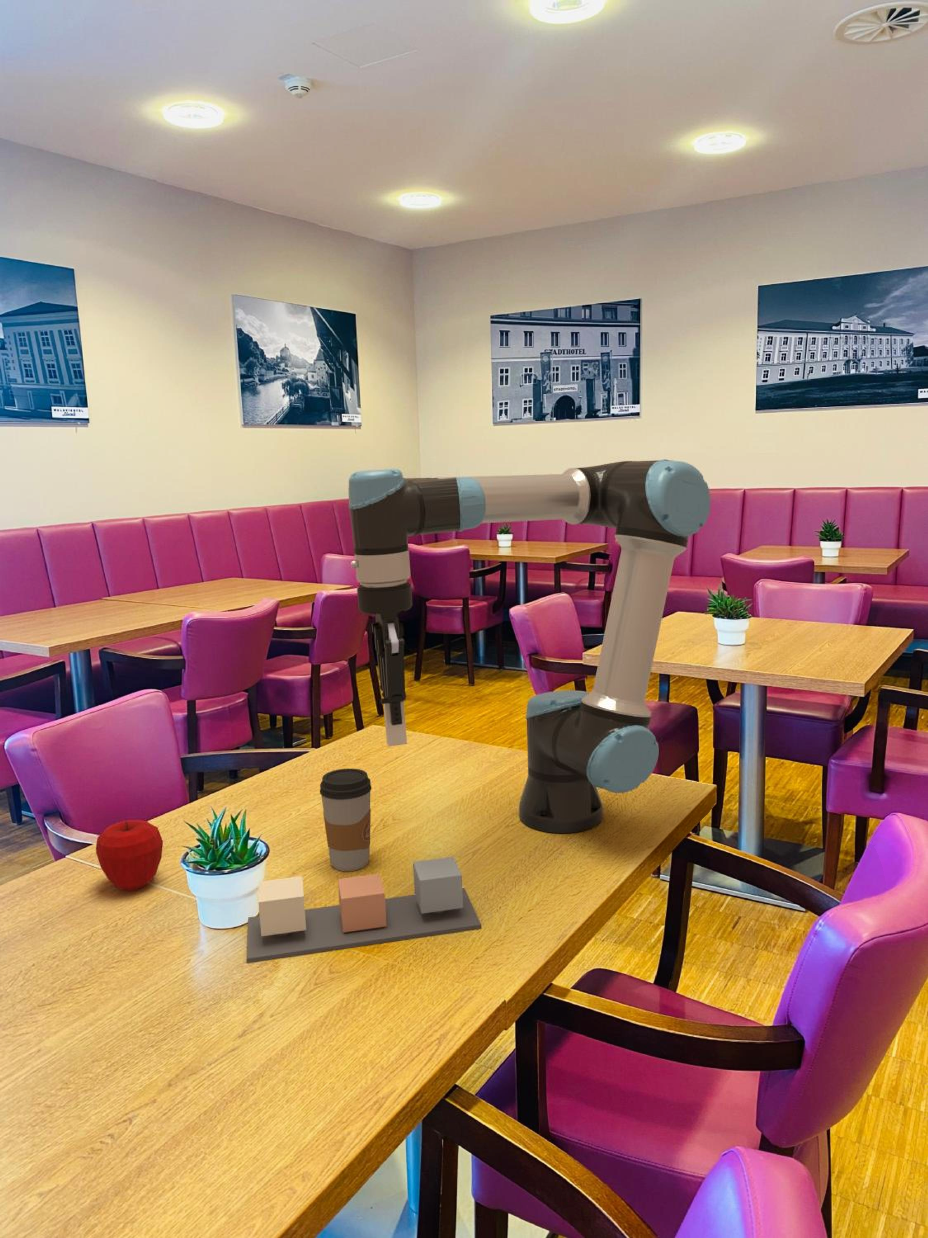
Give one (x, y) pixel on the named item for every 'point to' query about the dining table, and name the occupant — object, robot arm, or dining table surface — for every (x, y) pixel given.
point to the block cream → (281, 906)
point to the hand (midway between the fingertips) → (396, 743)
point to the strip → (329, 934)
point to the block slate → (438, 885)
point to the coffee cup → (347, 817)
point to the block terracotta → (362, 902)
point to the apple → (130, 853)
